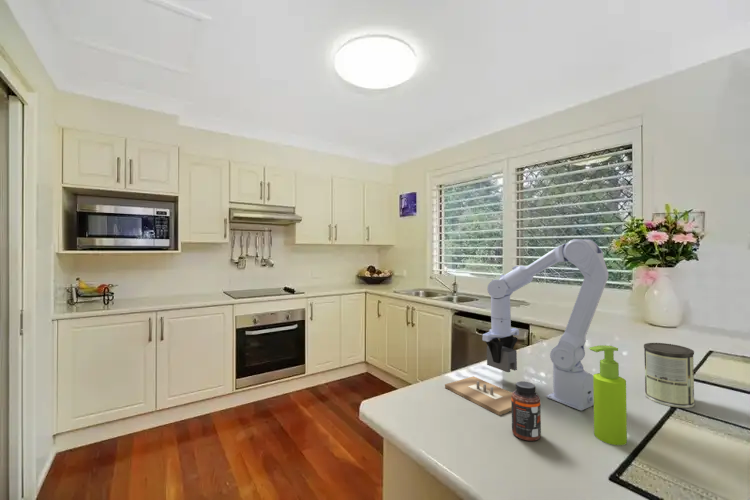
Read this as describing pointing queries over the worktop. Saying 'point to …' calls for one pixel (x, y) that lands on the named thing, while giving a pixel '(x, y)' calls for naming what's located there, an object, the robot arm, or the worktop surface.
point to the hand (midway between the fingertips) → (501, 361)
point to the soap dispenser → (609, 399)
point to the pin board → (483, 394)
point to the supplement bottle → (526, 412)
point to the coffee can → (669, 374)
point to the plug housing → (504, 359)
